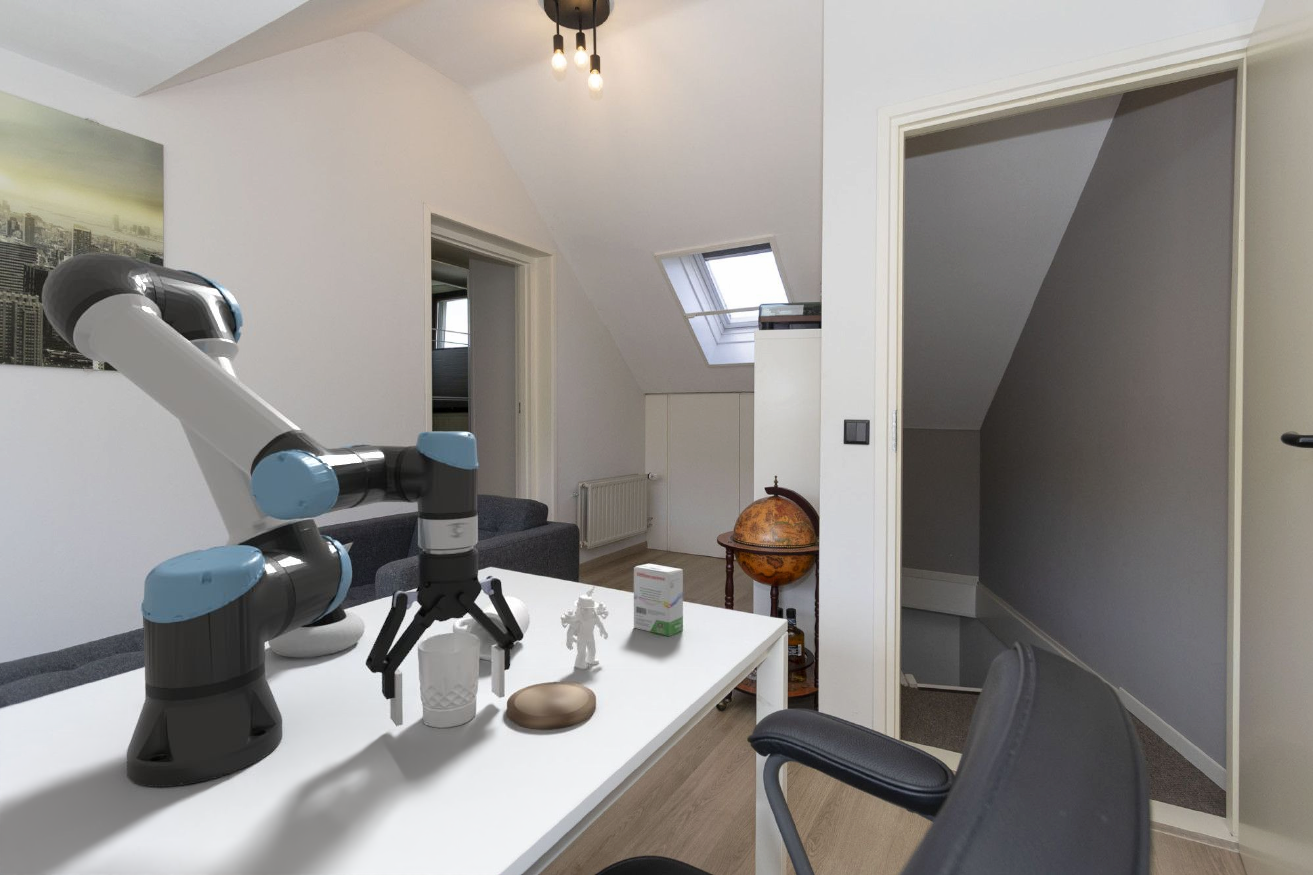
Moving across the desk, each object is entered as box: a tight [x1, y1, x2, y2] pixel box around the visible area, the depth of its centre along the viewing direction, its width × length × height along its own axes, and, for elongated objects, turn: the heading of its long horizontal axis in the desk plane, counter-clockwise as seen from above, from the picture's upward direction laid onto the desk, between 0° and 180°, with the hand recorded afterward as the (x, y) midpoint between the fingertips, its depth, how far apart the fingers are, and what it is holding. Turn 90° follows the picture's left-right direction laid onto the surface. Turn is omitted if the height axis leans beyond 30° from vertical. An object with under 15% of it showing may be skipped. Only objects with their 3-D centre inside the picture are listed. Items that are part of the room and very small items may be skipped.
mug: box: [452, 596, 531, 661], centre depth 111 cm, size 12×10×8 cm
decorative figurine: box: [267, 541, 366, 659], centre depth 112 cm, size 15×15×20 cm
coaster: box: [506, 681, 597, 730], centre depth 88 cm, size 12×12×1 cm
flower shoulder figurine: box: [560, 586, 609, 670], centre depth 104 cm, size 9×4×12 cm, turn 137°
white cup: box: [417, 632, 480, 729], centre depth 86 cm, size 8×8×10 cm
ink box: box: [633, 563, 684, 637], centre depth 122 cm, size 8×5×12 cm, turn 53°
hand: (449, 707), depth 86 cm, fingers open, 13 cm apart
